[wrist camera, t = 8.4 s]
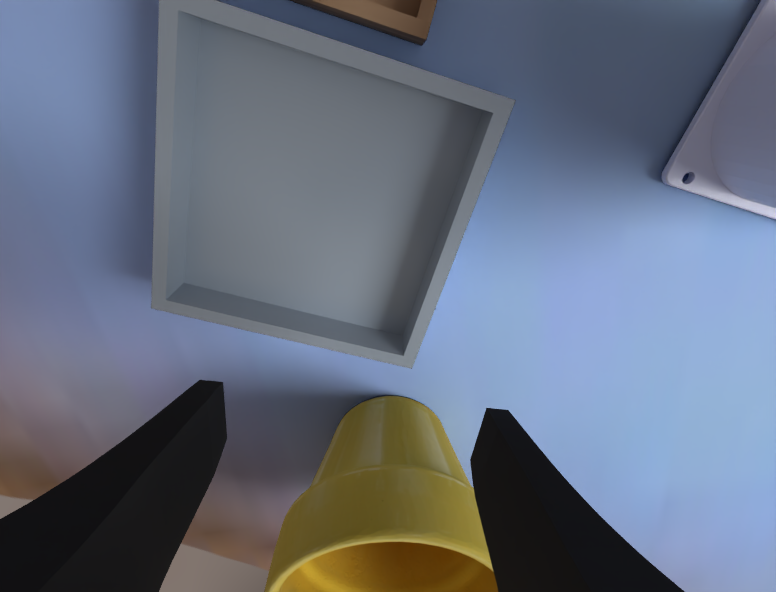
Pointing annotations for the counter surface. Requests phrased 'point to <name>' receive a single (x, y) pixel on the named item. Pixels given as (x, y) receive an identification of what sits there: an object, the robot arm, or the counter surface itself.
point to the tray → (383, 15)
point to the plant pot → (385, 511)
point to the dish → (309, 181)
